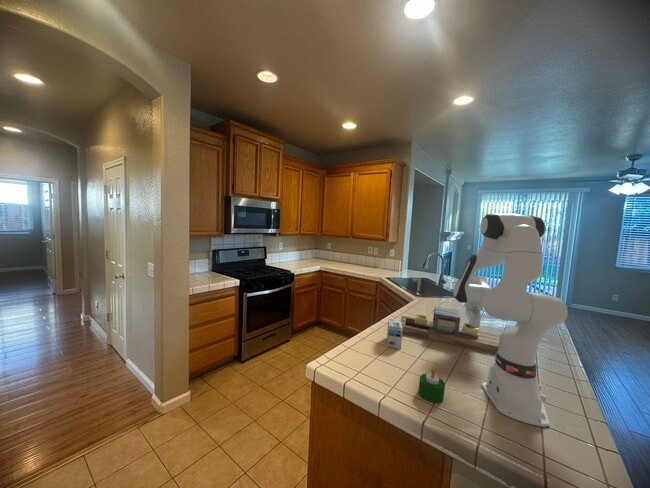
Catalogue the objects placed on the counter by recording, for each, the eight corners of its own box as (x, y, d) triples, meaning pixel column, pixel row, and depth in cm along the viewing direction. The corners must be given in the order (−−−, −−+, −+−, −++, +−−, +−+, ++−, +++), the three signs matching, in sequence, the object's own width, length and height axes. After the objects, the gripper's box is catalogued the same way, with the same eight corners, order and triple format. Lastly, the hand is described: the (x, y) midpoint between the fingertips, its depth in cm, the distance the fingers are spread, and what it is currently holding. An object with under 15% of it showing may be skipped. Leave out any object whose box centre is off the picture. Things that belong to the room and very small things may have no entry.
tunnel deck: (512, 357, 124) (516, 329, 123) (398, 332, 144) (400, 308, 142) (502, 342, 141) (505, 317, 140) (401, 321, 160) (403, 300, 159)
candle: (430, 405, 86) (434, 377, 85) (413, 390, 93) (416, 364, 93) (448, 400, 89) (451, 373, 88) (430, 385, 97) (433, 360, 96)
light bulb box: (401, 349, 124) (403, 328, 123) (386, 347, 125) (389, 325, 124) (399, 339, 135) (401, 320, 134) (386, 337, 136) (388, 318, 135)
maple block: (454, 333, 139) (455, 322, 138) (436, 329, 142) (437, 318, 141) (453, 329, 144) (454, 318, 144) (435, 325, 147) (436, 315, 147)
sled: (478, 338, 133) (479, 330, 133) (414, 325, 145) (415, 318, 144) (475, 332, 141) (476, 324, 141) (414, 320, 153) (415, 313, 152)
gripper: (485, 311, 126) (481, 338, 127) (477, 301, 145) (474, 324, 146) (470, 309, 128) (467, 335, 130) (464, 299, 147) (461, 322, 149)
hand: (471, 329), depth 138 cm, fingers closed
